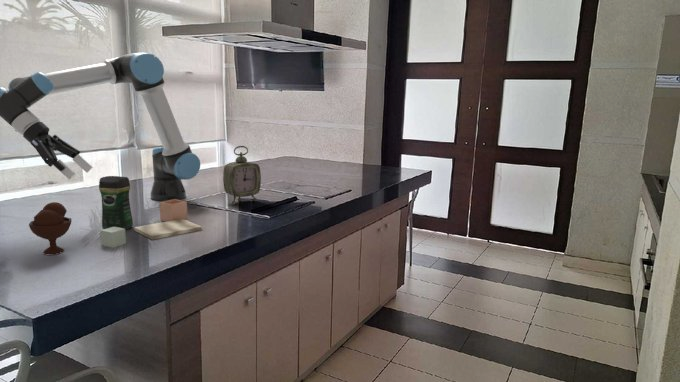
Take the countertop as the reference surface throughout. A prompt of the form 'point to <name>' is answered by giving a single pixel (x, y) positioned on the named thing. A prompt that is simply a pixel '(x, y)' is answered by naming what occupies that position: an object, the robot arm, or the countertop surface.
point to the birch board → (167, 228)
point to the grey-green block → (113, 236)
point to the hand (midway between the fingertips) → (81, 173)
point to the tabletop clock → (241, 177)
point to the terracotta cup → (173, 210)
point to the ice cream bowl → (51, 225)
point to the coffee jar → (115, 202)
